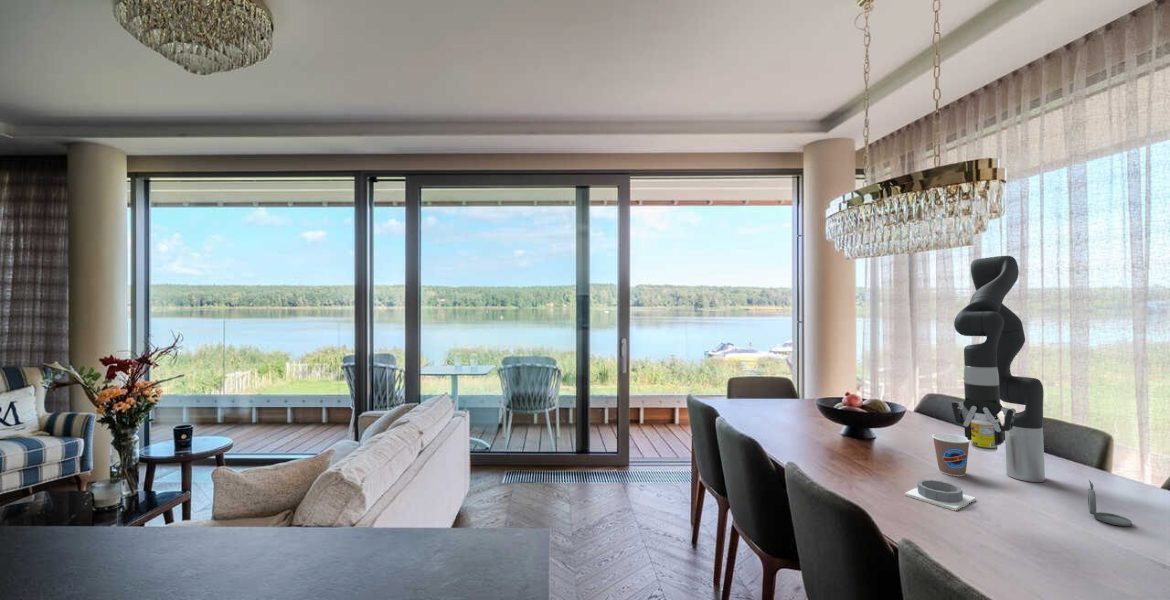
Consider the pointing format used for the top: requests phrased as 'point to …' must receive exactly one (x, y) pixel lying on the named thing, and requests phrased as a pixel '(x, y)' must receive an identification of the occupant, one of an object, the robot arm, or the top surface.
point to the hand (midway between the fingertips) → (983, 441)
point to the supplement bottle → (982, 433)
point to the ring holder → (940, 494)
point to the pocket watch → (1104, 516)
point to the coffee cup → (951, 453)
